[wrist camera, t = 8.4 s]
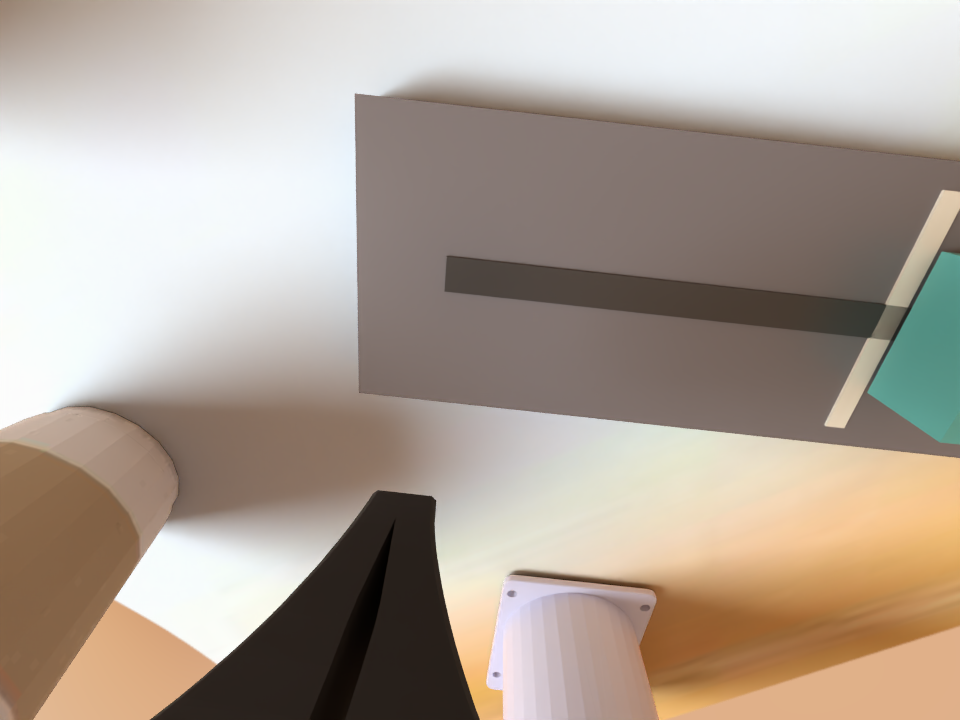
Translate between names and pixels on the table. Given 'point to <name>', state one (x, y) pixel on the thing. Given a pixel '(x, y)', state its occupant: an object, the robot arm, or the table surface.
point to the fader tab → (927, 357)
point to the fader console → (641, 270)
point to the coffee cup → (69, 537)
